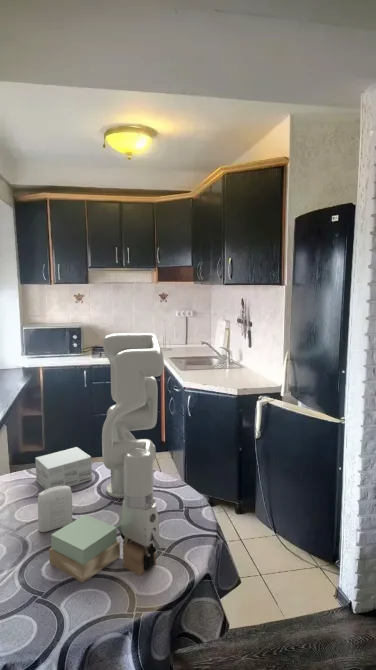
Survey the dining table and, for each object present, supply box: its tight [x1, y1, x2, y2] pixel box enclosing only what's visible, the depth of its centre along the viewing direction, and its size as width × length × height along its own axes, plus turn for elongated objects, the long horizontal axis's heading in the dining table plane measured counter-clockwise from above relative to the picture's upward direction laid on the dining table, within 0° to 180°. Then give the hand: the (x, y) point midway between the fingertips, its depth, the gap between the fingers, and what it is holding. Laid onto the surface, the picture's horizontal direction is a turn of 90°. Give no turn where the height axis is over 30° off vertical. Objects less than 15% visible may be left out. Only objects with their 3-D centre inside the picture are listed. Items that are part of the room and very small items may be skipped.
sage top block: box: [50, 514, 118, 565], centre depth 115 cm, size 12×12×4 cm
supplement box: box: [34, 446, 93, 490], centre depth 162 cm, size 17×13×9 cm
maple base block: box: [48, 540, 121, 584], centre depth 116 cm, size 13×13×4 cm
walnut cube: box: [122, 540, 157, 577], centre depth 113 cm, size 6×6×6 cm
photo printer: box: [37, 486, 74, 533], centre depth 131 cm, size 10×4×12 cm, turn 123°
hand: (139, 562), depth 114 cm, fingers closed on walnut cube, 6 cm apart
